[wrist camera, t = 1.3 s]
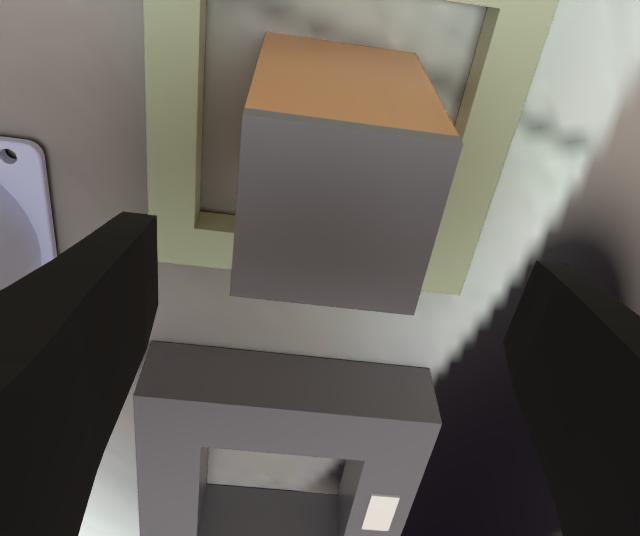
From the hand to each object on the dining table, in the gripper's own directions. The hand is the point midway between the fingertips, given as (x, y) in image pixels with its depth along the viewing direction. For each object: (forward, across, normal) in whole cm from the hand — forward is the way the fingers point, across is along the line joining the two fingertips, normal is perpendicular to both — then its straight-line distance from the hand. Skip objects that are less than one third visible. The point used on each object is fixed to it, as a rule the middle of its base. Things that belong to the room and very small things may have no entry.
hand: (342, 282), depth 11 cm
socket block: (+9, 0, +16) cm, 18 cm away
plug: (+9, 0, 0) cm, 9 cm away
